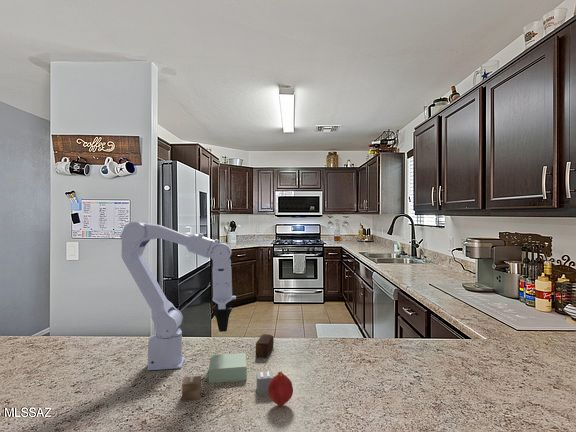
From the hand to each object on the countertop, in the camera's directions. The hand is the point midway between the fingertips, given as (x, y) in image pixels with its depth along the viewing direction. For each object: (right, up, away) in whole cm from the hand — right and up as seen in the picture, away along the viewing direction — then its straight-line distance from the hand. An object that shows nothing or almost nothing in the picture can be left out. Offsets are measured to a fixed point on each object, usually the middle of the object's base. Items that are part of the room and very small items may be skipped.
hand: (223, 327), depth 109 cm
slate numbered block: (+14, -10, -18) cm, 25 cm away
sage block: (+3, -11, -8) cm, 14 cm away
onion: (+18, -10, -26) cm, 33 cm away
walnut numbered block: (-4, -11, -21) cm, 24 cm away
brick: (+12, -11, +8) cm, 18 cm away
